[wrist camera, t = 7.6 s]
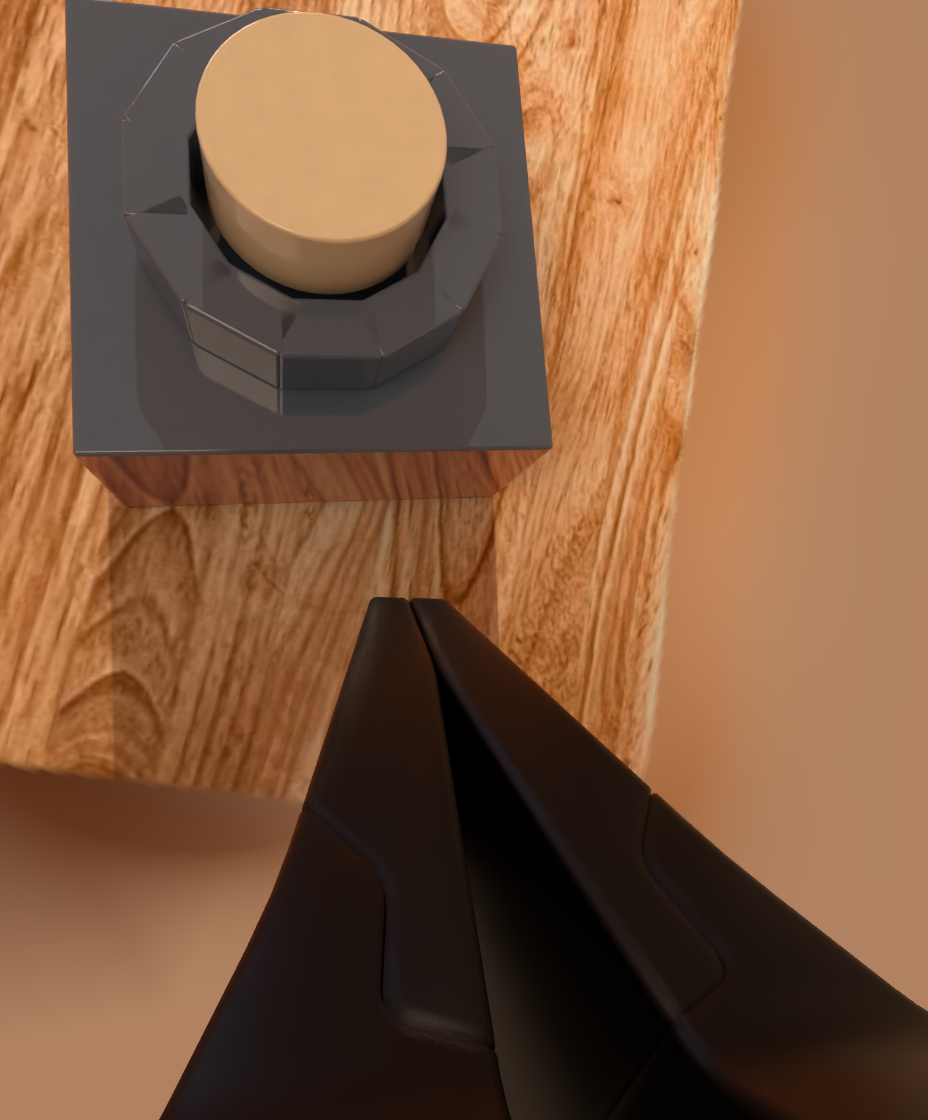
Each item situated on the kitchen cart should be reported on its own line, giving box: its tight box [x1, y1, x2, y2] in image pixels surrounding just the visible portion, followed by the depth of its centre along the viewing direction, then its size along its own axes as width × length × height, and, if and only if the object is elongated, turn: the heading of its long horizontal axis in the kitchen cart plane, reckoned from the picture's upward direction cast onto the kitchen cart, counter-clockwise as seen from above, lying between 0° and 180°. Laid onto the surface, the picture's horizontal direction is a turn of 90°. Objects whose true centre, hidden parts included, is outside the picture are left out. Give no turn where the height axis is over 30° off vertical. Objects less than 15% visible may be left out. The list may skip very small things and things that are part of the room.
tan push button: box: [195, 12, 447, 295], centre depth 15 cm, size 4×4×2 cm
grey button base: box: [65, 0, 553, 507], centre depth 19 cm, size 10×10×7 cm
